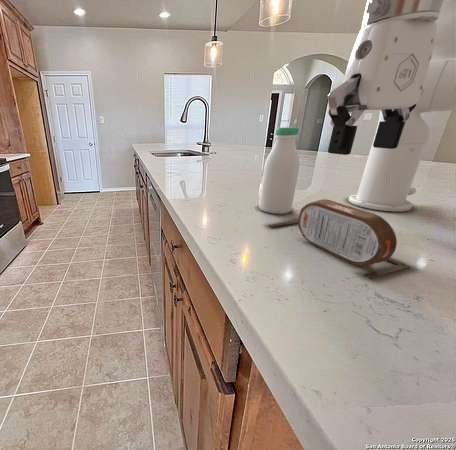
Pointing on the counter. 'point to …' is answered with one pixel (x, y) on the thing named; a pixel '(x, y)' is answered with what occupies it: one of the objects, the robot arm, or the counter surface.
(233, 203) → the counter surface
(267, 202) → the milk bottle
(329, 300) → the counter surface
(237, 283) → the counter surface
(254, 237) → the counter surface
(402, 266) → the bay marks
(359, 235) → the tin
